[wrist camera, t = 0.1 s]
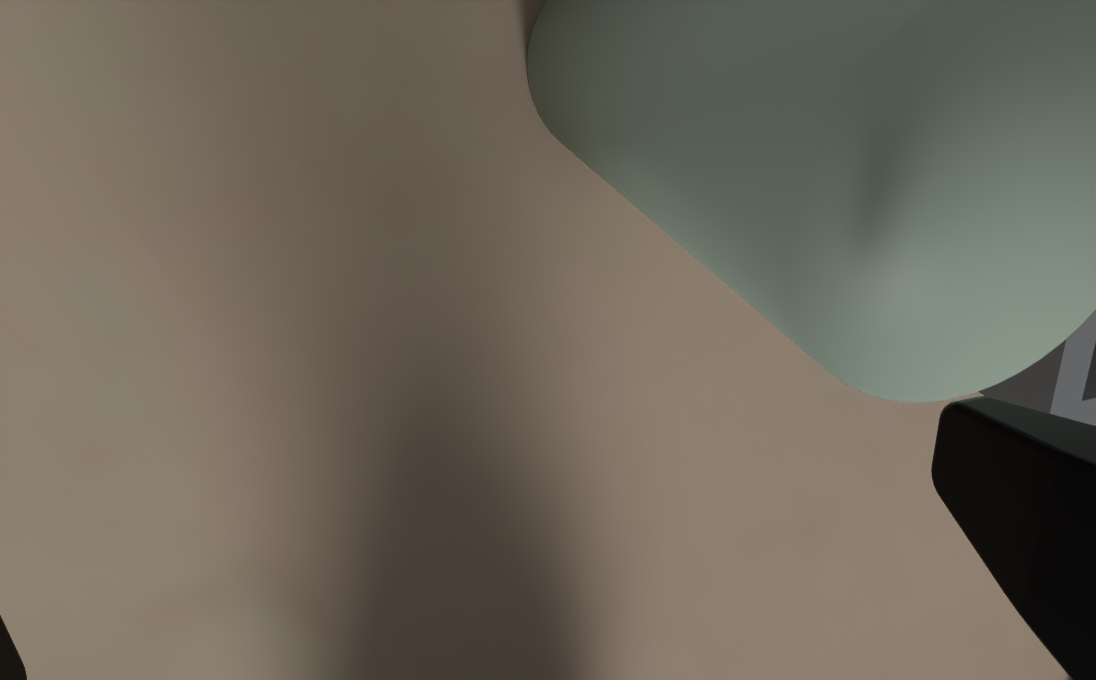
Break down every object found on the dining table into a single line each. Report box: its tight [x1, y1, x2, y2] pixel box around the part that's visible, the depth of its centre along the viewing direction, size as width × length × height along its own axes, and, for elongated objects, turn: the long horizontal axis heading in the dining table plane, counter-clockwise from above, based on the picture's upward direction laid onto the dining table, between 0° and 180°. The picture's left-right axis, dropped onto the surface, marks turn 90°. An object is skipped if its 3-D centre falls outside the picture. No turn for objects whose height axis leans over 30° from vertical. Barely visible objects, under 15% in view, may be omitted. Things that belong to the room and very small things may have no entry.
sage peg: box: [527, 0, 1096, 402], centre depth 16 cm, size 5×5×13 cm
